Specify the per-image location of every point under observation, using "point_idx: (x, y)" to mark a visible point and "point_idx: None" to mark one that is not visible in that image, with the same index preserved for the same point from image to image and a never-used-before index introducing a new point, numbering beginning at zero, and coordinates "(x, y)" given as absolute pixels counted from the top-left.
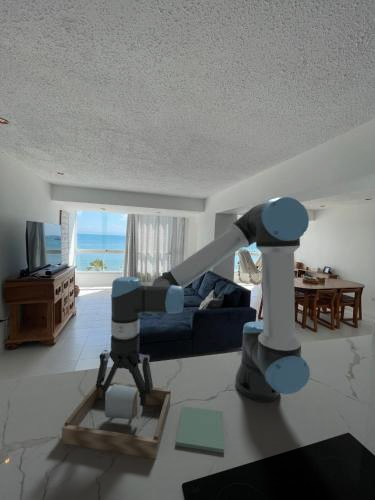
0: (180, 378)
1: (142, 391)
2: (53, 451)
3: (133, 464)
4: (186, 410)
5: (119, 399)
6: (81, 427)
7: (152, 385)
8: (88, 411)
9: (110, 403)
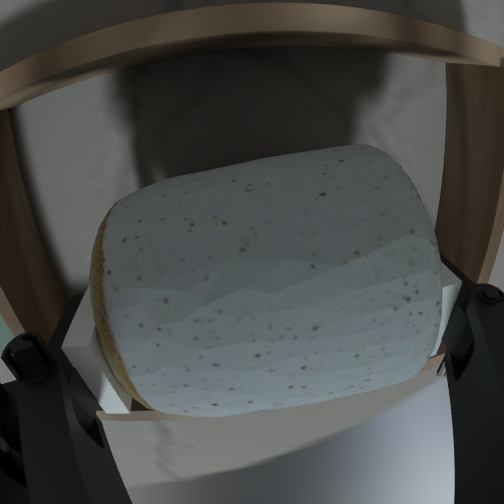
0: (136, 446)
1: (25, 394)
2: (459, 16)
3: (65, 25)
4: (6, 342)
5: (279, 251)
6: (443, 45)
7: (8, 446)
8: (438, 220)
9: (365, 185)
